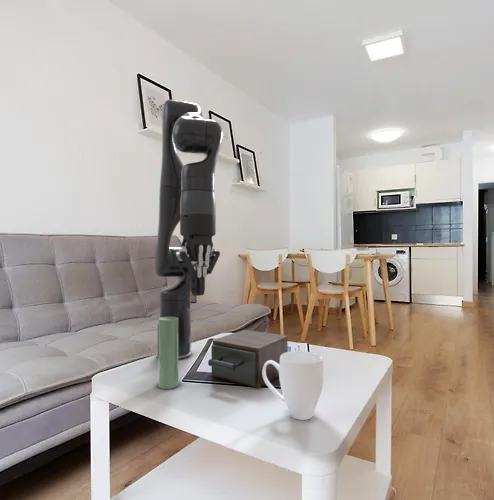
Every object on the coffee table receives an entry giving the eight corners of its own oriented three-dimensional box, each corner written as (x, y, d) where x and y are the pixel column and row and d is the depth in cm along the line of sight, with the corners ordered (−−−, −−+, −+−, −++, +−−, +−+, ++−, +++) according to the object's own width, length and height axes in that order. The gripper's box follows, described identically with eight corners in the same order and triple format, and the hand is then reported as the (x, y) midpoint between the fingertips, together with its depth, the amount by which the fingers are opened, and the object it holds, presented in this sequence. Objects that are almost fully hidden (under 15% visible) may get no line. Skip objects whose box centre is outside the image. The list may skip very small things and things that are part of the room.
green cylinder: (154, 386, 86) (154, 318, 86) (168, 380, 90) (168, 315, 90) (168, 390, 83) (168, 320, 83) (182, 384, 87) (182, 317, 87)
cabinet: (259, 388, 85) (259, 348, 85) (212, 376, 92) (212, 340, 92) (287, 370, 97) (287, 335, 97) (244, 361, 105) (244, 329, 105)
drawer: (242, 392, 80) (242, 358, 80) (198, 380, 87) (198, 349, 87) (281, 369, 95) (281, 341, 95) (241, 360, 102) (241, 334, 102)
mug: (325, 409, 73) (325, 353, 73) (319, 428, 66) (319, 365, 66) (268, 400, 78) (268, 347, 78) (256, 417, 70) (256, 358, 70)
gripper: (204, 216, 85) (204, 291, 85) (162, 212, 74) (162, 297, 74) (230, 215, 81) (230, 293, 81) (190, 210, 70) (190, 300, 70)
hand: (197, 295), depth 77 cm, fingers closed
